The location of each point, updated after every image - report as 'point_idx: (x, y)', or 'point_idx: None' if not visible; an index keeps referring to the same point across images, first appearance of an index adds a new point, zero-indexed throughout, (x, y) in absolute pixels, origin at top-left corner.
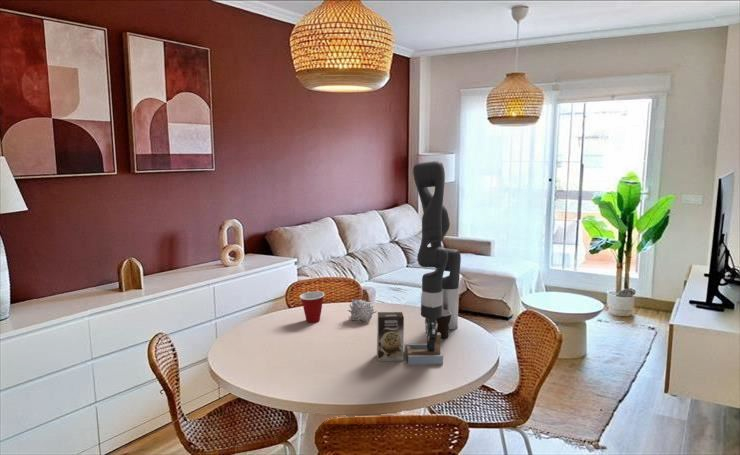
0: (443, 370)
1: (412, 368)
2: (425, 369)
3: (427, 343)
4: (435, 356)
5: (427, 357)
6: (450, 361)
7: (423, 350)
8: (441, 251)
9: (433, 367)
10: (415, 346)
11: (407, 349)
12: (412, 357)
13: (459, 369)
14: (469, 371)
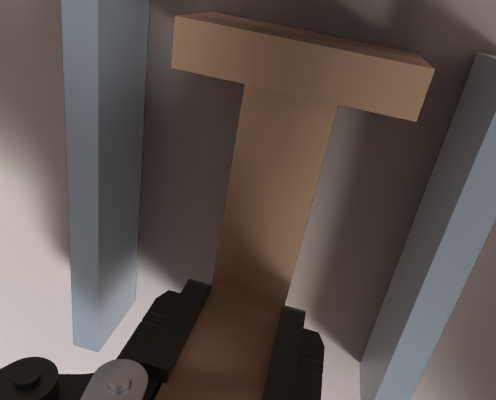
0: (9, 252)
1: (33, 6)
2: (18, 127)
3: (274, 345)
4: (74, 285)
5: (76, 210)
6: None
7: (270, 246)
8: None
9: (59, 206)
10: (446, 209)
11: (298, 41)
12: (70, 40)
13: (30, 349)
14: None
